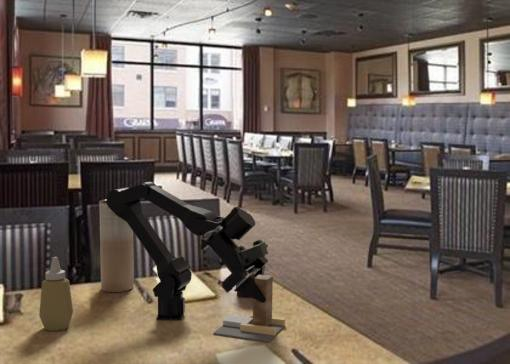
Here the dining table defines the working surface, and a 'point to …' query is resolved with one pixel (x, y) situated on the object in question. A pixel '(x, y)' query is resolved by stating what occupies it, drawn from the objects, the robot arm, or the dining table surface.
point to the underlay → (250, 328)
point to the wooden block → (264, 310)
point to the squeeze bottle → (55, 299)
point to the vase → (115, 251)
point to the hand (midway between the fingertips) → (267, 298)
